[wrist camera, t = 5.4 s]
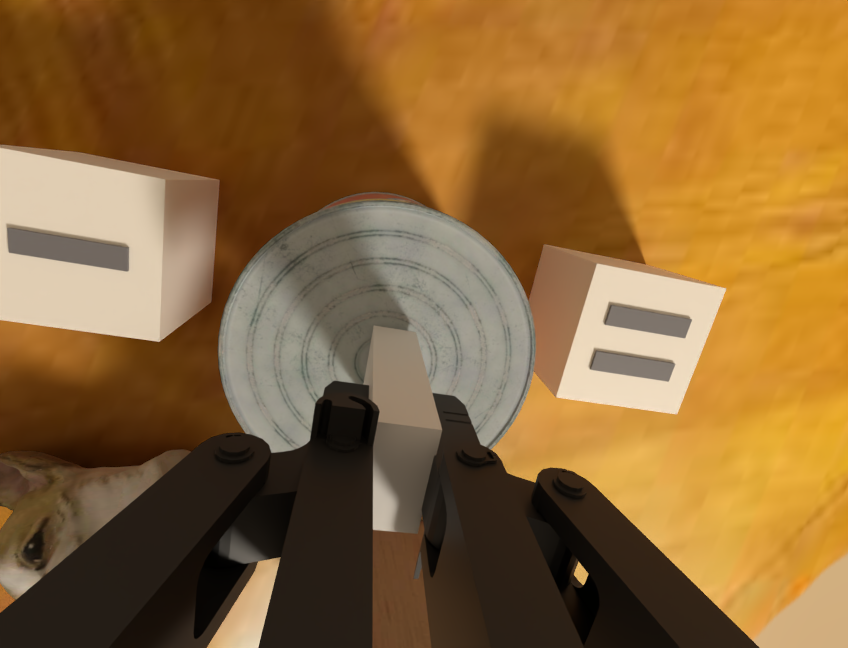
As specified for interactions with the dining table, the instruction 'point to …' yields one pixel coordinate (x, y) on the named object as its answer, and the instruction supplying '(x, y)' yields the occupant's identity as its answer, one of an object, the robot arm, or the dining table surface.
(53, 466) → the ceramic sculpture
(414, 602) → the block
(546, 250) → the marked cube 1
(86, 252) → the marked cube 2
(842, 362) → the dining table surface
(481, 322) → the canned food
